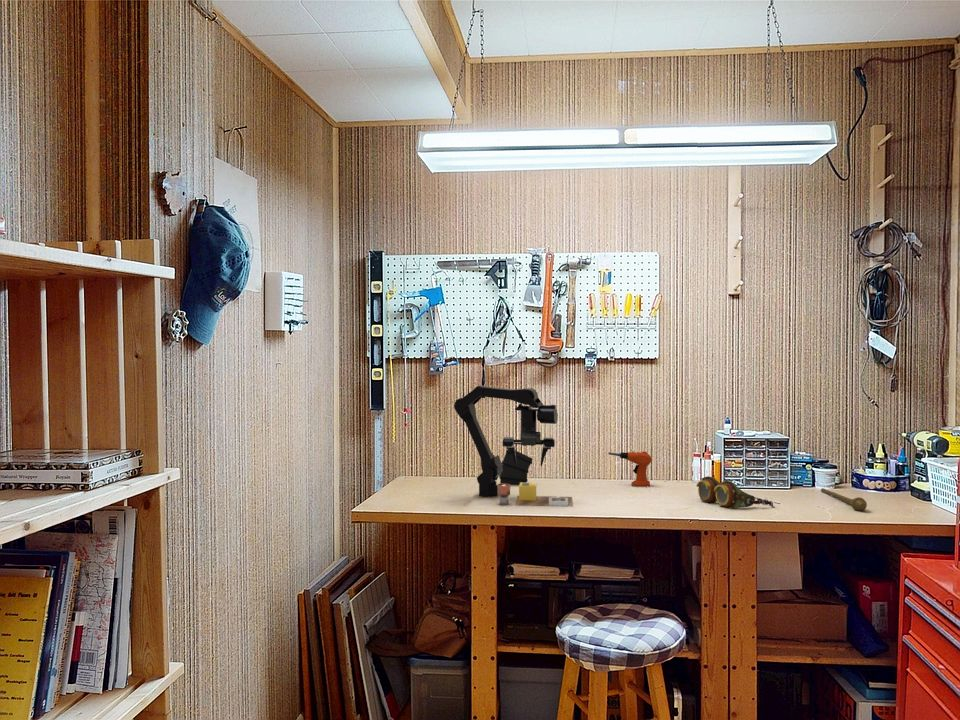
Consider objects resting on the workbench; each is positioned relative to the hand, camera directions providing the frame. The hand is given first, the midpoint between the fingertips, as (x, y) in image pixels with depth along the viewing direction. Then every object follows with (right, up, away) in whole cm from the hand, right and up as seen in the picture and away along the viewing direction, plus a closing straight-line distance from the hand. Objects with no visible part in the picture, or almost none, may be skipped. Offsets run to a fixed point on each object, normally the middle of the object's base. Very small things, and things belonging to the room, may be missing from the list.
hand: (528, 465), depth 255 cm
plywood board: (+5, -13, -5) cm, 15 cm away
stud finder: (0, -12, 0) cm, 12 cm away
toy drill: (+43, -13, +29) cm, 54 cm away
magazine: (-3, -13, +32) cm, 35 cm away
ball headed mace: (+113, -13, -2) cm, 114 cm away
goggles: (+74, -13, -4) cm, 75 cm away
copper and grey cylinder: (-9, -13, -9) cm, 19 cm away
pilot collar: (+10, -12, -10) cm, 18 cm away
